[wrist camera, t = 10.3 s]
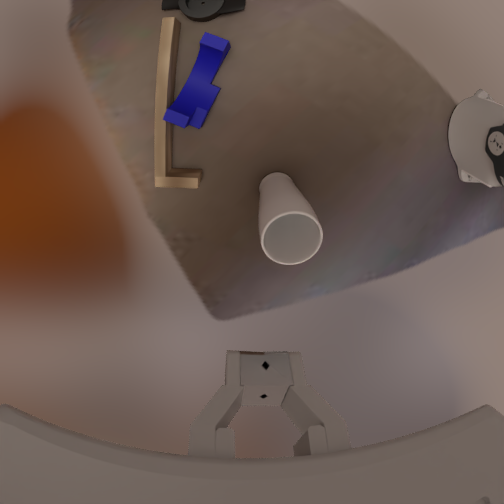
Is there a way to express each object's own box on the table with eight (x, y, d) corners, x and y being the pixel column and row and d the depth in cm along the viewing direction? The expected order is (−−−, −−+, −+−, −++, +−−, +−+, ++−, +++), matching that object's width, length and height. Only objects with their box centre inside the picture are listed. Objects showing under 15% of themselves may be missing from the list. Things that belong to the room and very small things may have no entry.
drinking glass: (306, 194, 42) (333, 248, 30) (268, 215, 44) (279, 275, 32) (285, 158, 39) (307, 198, 27) (245, 180, 41) (247, 231, 28)
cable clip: (202, 125, 36) (195, 132, 31) (173, 114, 35) (162, 119, 30) (240, 51, 30) (240, 45, 25) (210, 39, 29) (205, 32, 24)
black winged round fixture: (195, -28, 22) (192, -35, 20) (251, 5, 26) (251, -1, 24) (158, 8, 25) (152, 4, 23) (212, 42, 29) (210, 38, 27)
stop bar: (213, 22, 27) (211, 16, 24) (201, 178, 40) (197, 188, 37) (170, 23, 27) (162, 17, 24) (162, 177, 40) (155, 186, 37)
